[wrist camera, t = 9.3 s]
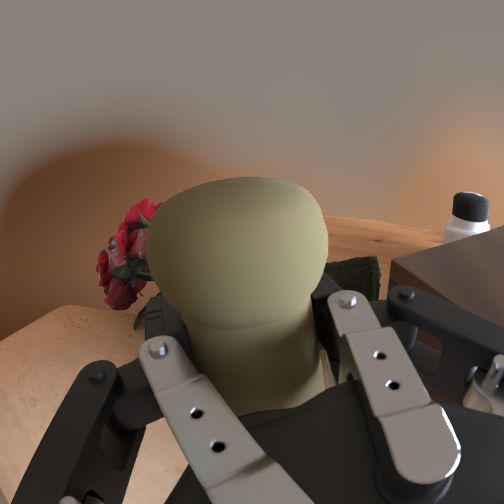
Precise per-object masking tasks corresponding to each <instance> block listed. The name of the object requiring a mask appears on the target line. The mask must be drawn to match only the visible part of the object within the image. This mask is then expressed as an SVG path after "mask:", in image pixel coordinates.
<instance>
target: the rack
mask: <svg viewBox="0 0 504 504" xmlns="http://www.w3.org/2000/svg"><path fill="white" fill-rule="evenodd" d="M398 285H408V286H413V287H415V288H418V289H420V290H422V291H425V292H427V293H429V294H432V295H434V296H436V297H439V298H441V299H443V300H446V301H448V302H450V303H452V304H455V305H457V306H459V307H462V308H464V309H466V310H468V311H471V312H473V313H475V314H477V315H479V316H482V317H484V318H486V319H488V320H491V321H493V322H495V323H497V324H499V325H502V326H504V226H501V227H498V228H495V229H492V230H488V231H485V232H482V233H479V234H476V235H473V236H469V237H466V238H463V239H460V240H457V241H453V242H450V243H447V244H443V245H440V246H437V247H433V248H430V249H427V250H423V251H420V252H416V253H413V254H409V255H406V256H402V257H399V258H395V259H392V260H391V267H390V278H389V285H388V291H389V290H390V289H391V288H392V287H395V286H398ZM387 294H388V293H387ZM416 340H418V341H420V342H422V343H424V344H426V345H428V346H429V347H431V348H433V349H435V350H437V351H439V352H441V353H442V350H443V344H442V342H441V340H440V339H439V338H437V337H436V336H434V335H432V334H430V333H428V332H426V331H424V330H422V329H420V328H418V330H417V335H416ZM423 385H424V384H423ZM424 387H425V389H426V391H427V393H428V395H429V397H430V398H433V399H437V400H440V401H444V402H447V403H451V404H455V405H459V404H457V403H456V402H454V401H452V400H450V399H449V398H447V397H445V396H443V395H442V394H440V393H438V392H436V391H435V390H433V389H431V388H430V387H428V386H426V385H424ZM459 406H461V405H459Z"/></svg>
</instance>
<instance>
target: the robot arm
mask: <svg viewBox="0 0 504 504" xmlns="http://www.w3.org/2000/svg"><path fill="white" fill-rule="evenodd" d="M310 296H311V302H312V309H313V315H314V321H315V327H316V333H317V340H318V346H319V350H320V349H323V348H324V349H325V350H326V363H327V367H328V370H329V374H330V378H331V382H332V386H333V387H331V388H328V389H326V390H324V391H322V392H321V393H319V394H318V395H316V396H314V397H313V398H311V399H309V400H308V401H306V402H304V403H303V404H301V405H299V406H297V407H293V408H285V409H275V410H263V411H256V412H252V413H249V414H245V415H241V416H237V417H236V416H235V414H234V413H233V412H232V410H231V409H230V408H229V406H228V405H227V404H226V402H225V401H224V400H223V398H222V397H221V396H220V394H219V393H218V391H217V390H216V389H215V387H214V386H213V384H212V383H211V382H210V380H209V379H208V377H207V376H206V375H205V374H204V373H203V374H201V375H200V374H199V373H198V371H197V370H196V368H195V366H194V365H193V359H192V351H191V345H190V341H189V337H188V333H187V329H186V325H185V323H184V322H183V321H182V319H181V313H180V312H178V311H177V310H176V309H174V308H173V307H171V306H170V305H169V304H168V302H167V301H166V299H165V298H164V296H163V295H160V296H156V297H151V298H150V300H149V302H148V303H147V304H146V317H145V320H146V321H145V342H144V343H143V344H142V345H141V346H140V347H139V349H138V358H136V359H135V360H134V361H132V362H130V363H128V364H126V365H123V366H121V367H119V368H116V366H115V365H114V364H113V363H112V362H110V361H107V360H99V361H94V362H92V363H90V364H88V365H86V366H85V367H84V368H83V369H82V370H81V371H80V372H79V374H78V376H77V377H76V379H75V381H74V382H73V384H72V386H71V388H70V389H69V391H68V393H67V394H66V396H65V398H64V400H63V401H62V403H61V405H60V407H59V409H58V410H57V412H56V414H55V416H54V418H53V419H52V421H51V423H50V425H49V427H48V429H47V430H46V432H45V434H44V436H43V438H42V440H41V442H40V444H39V446H38V448H37V450H36V452H35V454H34V456H33V458H32V460H31V462H30V464H29V466H28V468H27V470H26V472H25V474H24V476H23V478H22V480H21V482H20V485H19V487H18V489H17V491H16V493H15V496H14V498H13V500H12V502H11V504H122V503H123V499H124V496H125V493H126V489H127V486H128V483H129V480H130V476H131V473H132V470H133V467H134V464H135V461H136V457H137V454H138V451H139V448H140V445H141V442H142V439H143V436H144V433H145V430H146V425H147V424H150V423H152V422H154V421H156V420H158V419H160V418H163V417H165V419H166V421H167V423H168V425H169V427H170V429H171V431H172V433H173V435H174V437H175V439H176V441H177V443H178V444H179V446H180V448H181V450H182V452H183V454H184V456H185V457H186V459H187V461H188V463H189V464H188V466H187V467H186V469H185V471H184V472H183V474H182V476H181V477H180V479H179V481H178V482H177V484H176V485H175V487H174V489H173V490H172V492H171V493H170V495H169V497H168V498H167V500H166V501H165V503H164V504H504V326H502V325H499V324H497V323H495V322H493V321H491V320H488V319H486V318H484V317H482V316H479V315H477V314H475V313H473V312H471V311H468V310H466V309H464V308H462V307H459V306H457V305H455V304H452V303H450V302H448V301H446V300H443V299H441V298H439V297H436V296H434V295H432V294H429V293H427V292H425V291H422V290H420V289H418V288H415V287H413V286H408V285H398V286H395V287H392V288H391V289H390V290H389V291H388V294H387V300H377V301H367V299H366V297H365V296H364V295H363V294H361V293H359V292H356V291H351V290H343V289H342V288H341V287H340V286H339V285H338V284H336V283H335V282H334V281H333V280H332V279H331V278H329V276H328V275H327V274H326V273H324V271H323V274H322V276H321V279H320V281H319V283H318V285H317V287H316V288H315V290H314V291H313V292H312V293H311V295H310ZM418 328H420V329H422V330H424V331H426V332H428V333H430V334H432V335H434V336H436V337H437V338H439V339H440V340H441V342H442V344H443V350H442V353H441V352H439V351H437V350H435V349H433V348H431V347H429V346H428V345H426V344H424V343H422V342H420V341H418V340H416V335H417V330H418ZM423 384H424V385H426V386H428V387H430V388H431V389H433V390H435V391H436V392H438V393H440V394H442V395H443V396H445V397H447V398H449V399H450V400H452V401H454V402H456V403H457V404H459V405H461V406H459V405H455V404H451V403H447V402H444V401H440V400H437V399H433V398H430V397H429V395H428V393H427V391H426V389H425V387H424V385H423Z"/></svg>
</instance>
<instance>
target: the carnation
mask: <svg viewBox="0 0 504 504" xmlns="http://www.w3.org/2000/svg"><path fill="white" fill-rule="evenodd" d="M162 204H163V203H162V202H161V203H159V204H157V205H156V206H155V207H154V203H153V201H152V200H150V199H143V200H142V201H141V202H140V203H137V204H135V205H133V206H132V207H131V209H130V210H128V212H127V213H126V215H125V221H124V222H122V223H121V224H120V225H119V229H118V234H116V235H113V236H112V237H111V238H110V240H109V242H108V247H107V249H108V253H106V251H105V250H102V251H101V252H100V254H99V257H98V265H97V267H96V271H97V272H98V273H99V284H98V286H103V287H105V289H104V292H105V295H107V297H106V299H105V300H104V301H105V302H106V303H107V304H108V305H109V306H110V307H111V308H112V309H114V310H126V309H128V308H129V307H130V306H131V304H132V303H134V302H136V300H137V299H138V298H137V295H136V294H137V293H138V292H139V291H141V290H142V289H143V288H144V287H145V285H146V283H147V281H154V280H153V278H152V276H151V273H150V269H149V266H148V262H147V259H146V236H147V233H148V229H149V226H150V223H151V220H152V217H153V214H154V212H155V211H156V210H157V209H158V208H159V207H160V206H161V205H162ZM380 271H381V270H380V268H379V265H378V261H377V257H376V256H374V255H373V256H371V257H356V258H351V259H348V260H345V261H340V262H331V263H326V264H325V267H324V273H326V274H327V275H328V276H329V278H331V279H332V280H333V281H334V282H335V283H336V284H338V285H339V286H340V287H341V288H342V289H343V290H351V291H356V292H359V293H361V294H363V295H364V296H365V297H366V299H367V301H377V300H378V298H379V288H380V286H381V285H380V283H379V280H380V278H381V273H380ZM132 286H133V287H132ZM140 294H141V293H140ZM141 295H142V294H141ZM160 295H162V293H161V292H160V293H158V294H157V295H156V296H160ZM142 296H143V295H142ZM156 296H155V297H156ZM145 315H146V306H145V307H144V308H143V309H142V310H141V311H140V312H139V313H138V315H137V317H136V319H135V321H134V323H133V327H134V330H135V329H136V327H137V325H138V324H139V322H140V321H141V320H142V319H143V318H144V316H145Z"/></svg>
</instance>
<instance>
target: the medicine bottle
mask: <svg viewBox="0 0 504 504" xmlns="http://www.w3.org/2000/svg"><path fill="white" fill-rule="evenodd" d="M489 204H490V203H489V201H488V200H487V199H486V198H485V197H483V196H482V195H479V194H476V193H472V192H460V193H457V194H456V195H455V196H454V201H453V211H452V217H451V219H450V220H449V222H448V224H447V225H446V227H445V229H444V235H443V242H442V245H443V244H447V243H450V242H453V241H457V240H460V239H463V238H466V237H469V236H473V235H476V234H479V233H482V232H485V231H488V230H490V225H489V224H487V220H488V212H489Z"/></svg>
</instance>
